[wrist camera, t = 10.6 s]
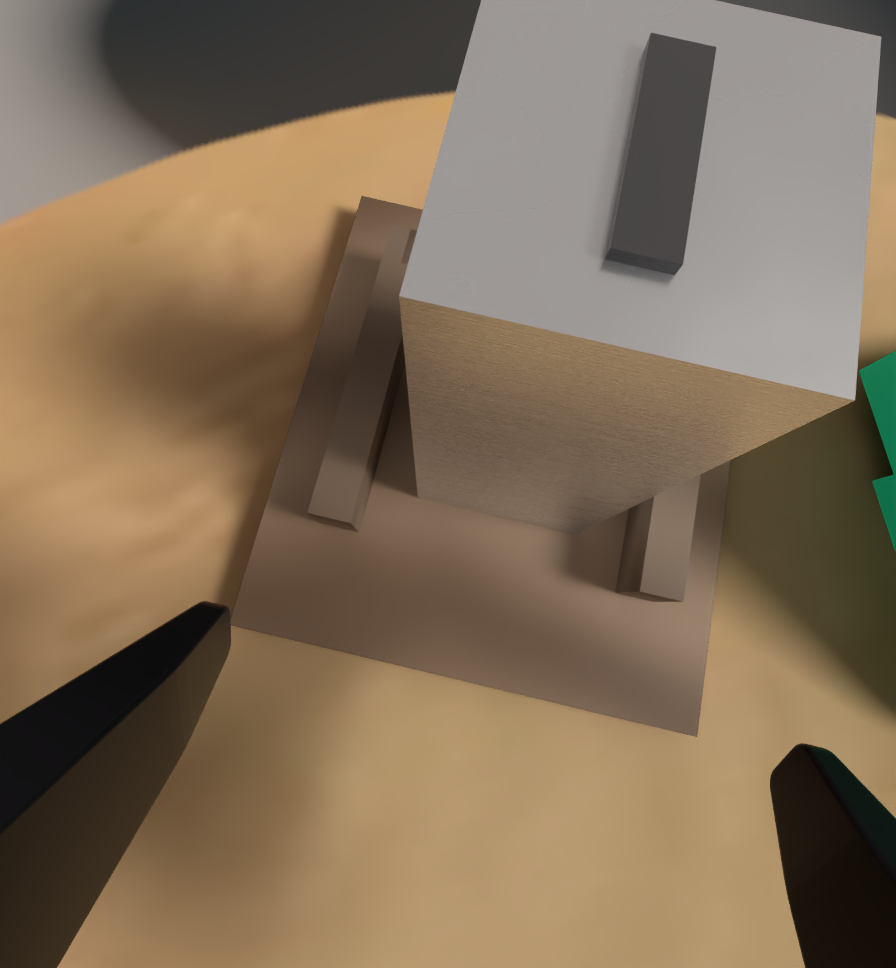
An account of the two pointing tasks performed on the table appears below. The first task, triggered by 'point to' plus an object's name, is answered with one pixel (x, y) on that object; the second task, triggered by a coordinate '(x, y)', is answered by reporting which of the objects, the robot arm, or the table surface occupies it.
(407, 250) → the cradle
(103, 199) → the table surface
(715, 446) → the block
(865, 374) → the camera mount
